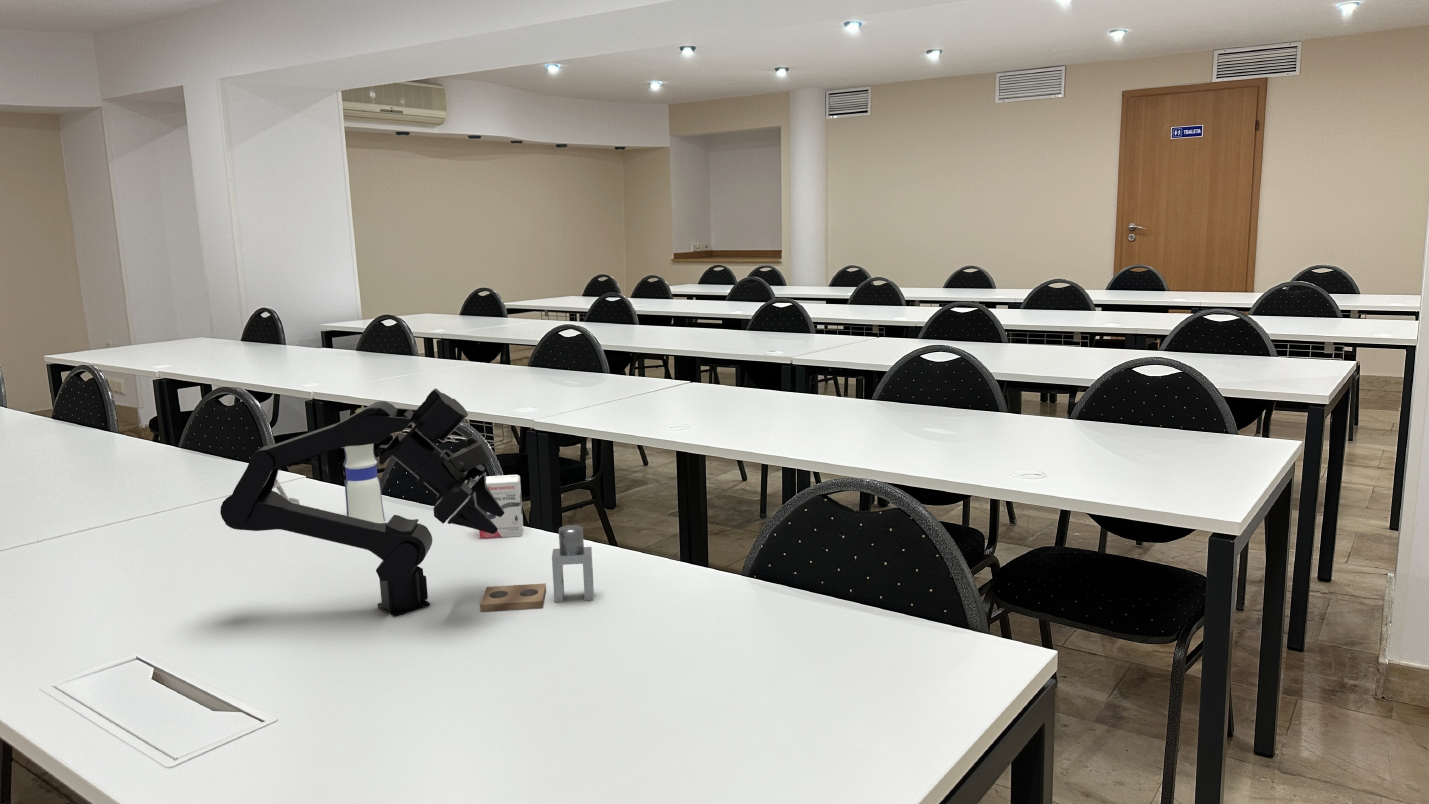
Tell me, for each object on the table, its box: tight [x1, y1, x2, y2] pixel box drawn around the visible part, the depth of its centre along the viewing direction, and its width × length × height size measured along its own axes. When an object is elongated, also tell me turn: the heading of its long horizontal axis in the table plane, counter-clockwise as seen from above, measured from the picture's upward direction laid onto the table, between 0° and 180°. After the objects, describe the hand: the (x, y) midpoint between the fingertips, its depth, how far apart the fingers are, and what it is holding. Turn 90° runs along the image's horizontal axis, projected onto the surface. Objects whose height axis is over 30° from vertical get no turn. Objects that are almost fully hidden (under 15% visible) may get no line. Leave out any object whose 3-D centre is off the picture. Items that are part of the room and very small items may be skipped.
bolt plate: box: [479, 583, 547, 613], centre depth 161 cm, size 10×8×1 cm
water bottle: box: [340, 405, 386, 523], centre depth 205 cm, size 8×9×25 cm
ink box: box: [478, 474, 524, 539], centre depth 196 cm, size 8×5×12 cm, turn 98°
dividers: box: [551, 524, 595, 604], centre depth 161 cm, size 6×4×12 cm, turn 96°
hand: (499, 523), depth 159 cm, fingers open, 9 cm apart
